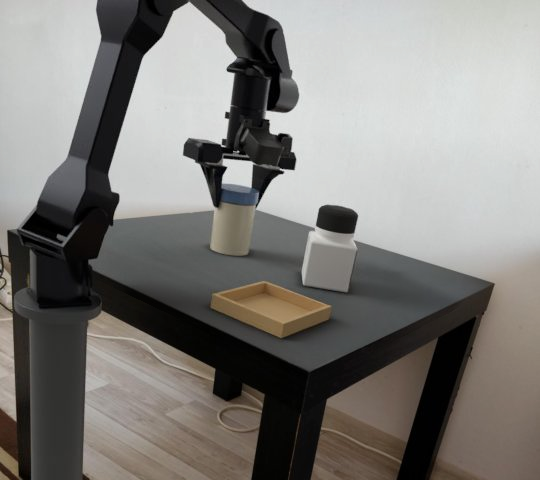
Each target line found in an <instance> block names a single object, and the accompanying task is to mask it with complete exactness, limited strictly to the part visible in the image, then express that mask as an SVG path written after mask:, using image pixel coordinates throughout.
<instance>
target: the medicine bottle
mask: <svg viewBox="0 0 540 480" xmlns="http://www.w3.org/2000/svg"><path fill="white" fill-rule="evenodd" d="M317 211H318V212H317V217H316V221H315V227H314V230H309V231H308V236H307V239H306V246H305V250H304V257H303V261H302V267H301V281H302V285H303V286H304V287H309V288H314V289H322V290H328V291H334V292H339V293H348V292H349V291H350V290H349V289H350V285H351V282H352V281H351V280H352V276H353V272H354V268H355V264H356V259H357V255H358V251H359V250H358V249H359V248H358V247H357V245H356V242H355V241H354V239H353V238H355V237H354V236H355V233H356V228H357V225H358V220H359V214H358V212H357V211H356V210H354V209H352V208H350V207H347V206H343V205H339V204H324V205H321V206H320V207H319V208H318V210H317Z"/></svg>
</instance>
